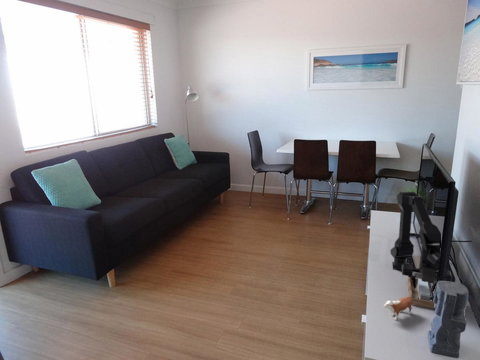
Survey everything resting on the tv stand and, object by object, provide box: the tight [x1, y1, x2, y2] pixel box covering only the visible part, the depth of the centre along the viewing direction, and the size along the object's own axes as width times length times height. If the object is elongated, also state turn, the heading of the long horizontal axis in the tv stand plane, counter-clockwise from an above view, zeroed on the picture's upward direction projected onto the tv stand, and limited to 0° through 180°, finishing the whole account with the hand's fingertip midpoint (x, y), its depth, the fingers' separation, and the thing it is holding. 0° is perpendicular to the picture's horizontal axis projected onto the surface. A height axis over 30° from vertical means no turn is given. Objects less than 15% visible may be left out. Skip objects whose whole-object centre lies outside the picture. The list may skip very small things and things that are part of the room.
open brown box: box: [407, 276, 435, 310], centre depth 154 cm, size 17×11×3 cm, turn 159°
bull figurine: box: [383, 295, 413, 321], centre depth 141 cm, size 4×13×8 cm, turn 111°
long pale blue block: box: [417, 278, 431, 301], centre depth 153 cm, size 13×4×4 cm, turn 159°
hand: (423, 289), depth 153 cm, fingers open, 7 cm apart
